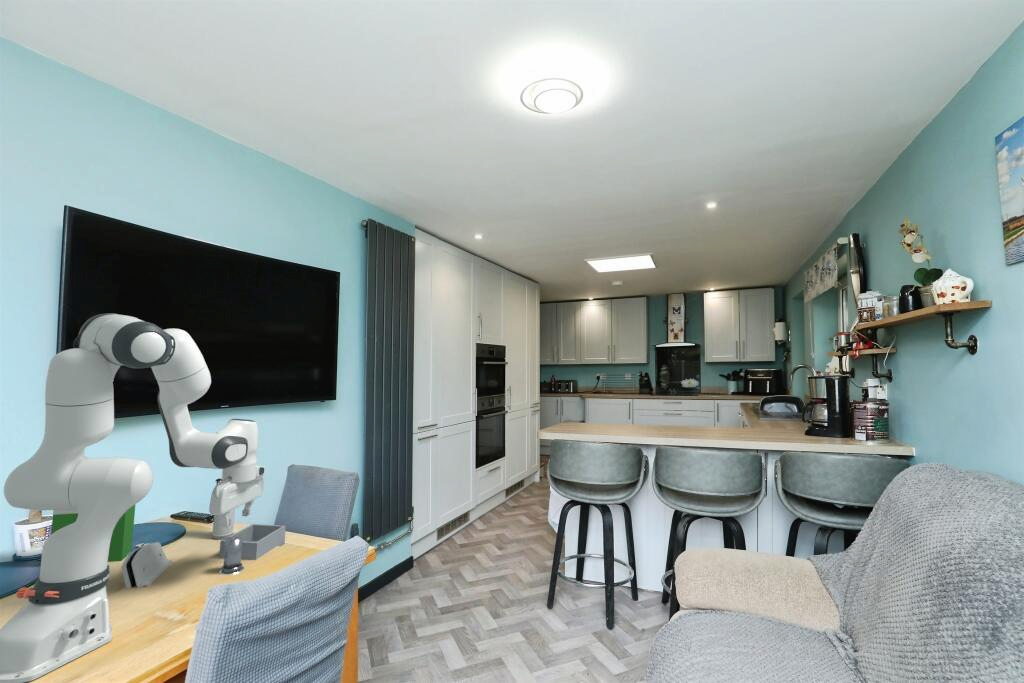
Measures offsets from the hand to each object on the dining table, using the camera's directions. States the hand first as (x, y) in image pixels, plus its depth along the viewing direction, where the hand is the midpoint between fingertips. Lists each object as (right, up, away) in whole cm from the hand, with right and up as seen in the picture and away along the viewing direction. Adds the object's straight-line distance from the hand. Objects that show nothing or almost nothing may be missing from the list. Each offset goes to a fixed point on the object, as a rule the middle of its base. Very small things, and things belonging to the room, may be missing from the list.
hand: (236, 520), depth 140 cm
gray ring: (-1, -15, -1) cm, 15 cm away
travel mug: (-21, -16, +28) cm, 39 cm away
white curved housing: (-22, -14, -6) cm, 27 cm away
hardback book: (-47, -14, +5) cm, 50 cm away
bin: (-3, -16, +15) cm, 22 cm away
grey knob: (-1, -14, -1) cm, 14 cm away
